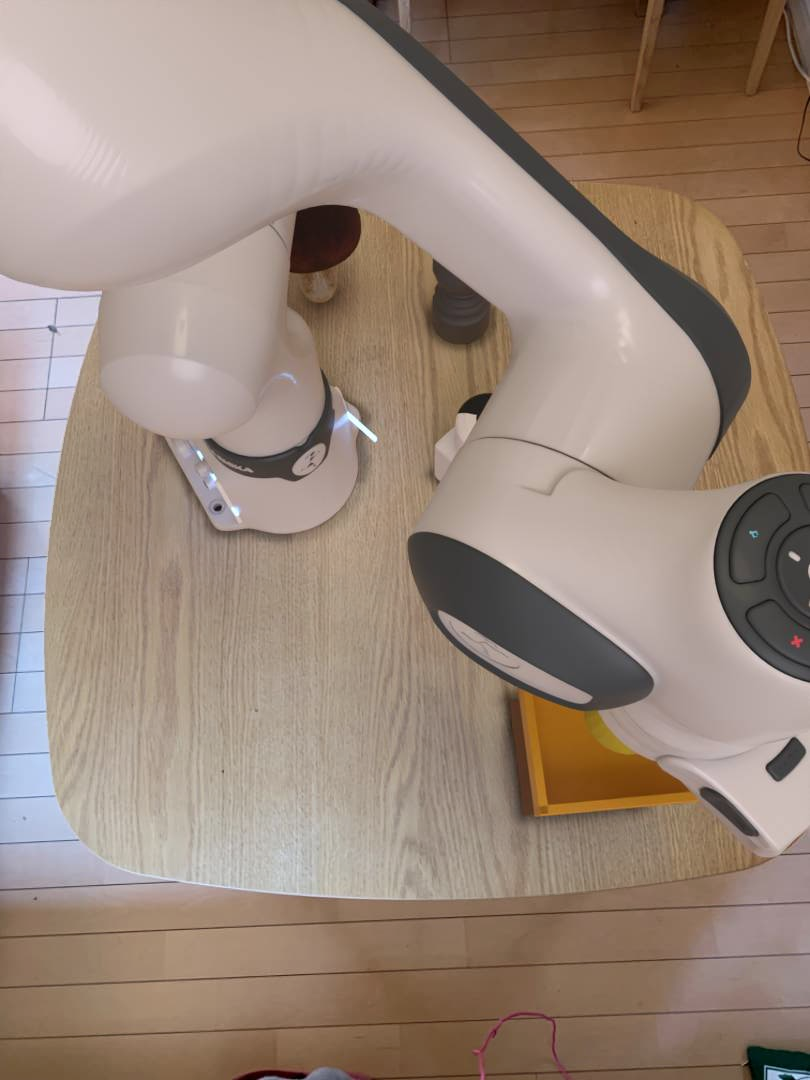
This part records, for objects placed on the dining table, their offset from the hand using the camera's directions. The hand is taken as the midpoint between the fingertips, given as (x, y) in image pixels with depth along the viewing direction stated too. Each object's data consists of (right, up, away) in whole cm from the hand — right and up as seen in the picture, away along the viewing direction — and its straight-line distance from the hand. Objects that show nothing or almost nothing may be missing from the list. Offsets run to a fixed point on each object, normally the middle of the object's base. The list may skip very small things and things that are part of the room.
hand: (624, 713), depth 55 cm
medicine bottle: (-6, +18, +31) cm, 36 cm away
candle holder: (-8, +35, +38) cm, 52 cm away
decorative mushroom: (-23, +38, +39) cm, 60 cm away
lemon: (0, -1, +3) cm, 3 cm away
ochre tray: (+1, -8, +21) cm, 23 cm away
